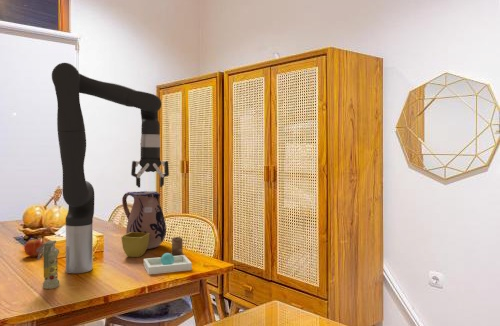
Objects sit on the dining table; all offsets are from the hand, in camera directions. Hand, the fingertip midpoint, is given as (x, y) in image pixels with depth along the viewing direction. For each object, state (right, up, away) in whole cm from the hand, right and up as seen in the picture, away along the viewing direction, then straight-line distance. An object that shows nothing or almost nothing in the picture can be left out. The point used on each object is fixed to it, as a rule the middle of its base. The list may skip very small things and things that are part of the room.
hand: (150, 187), depth 166 cm
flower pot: (-8, -30, +10) cm, 32 cm away
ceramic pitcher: (-9, -29, +25) cm, 39 cm away
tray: (+8, -30, -6) cm, 32 cm away
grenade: (-27, -31, -29) cm, 50 cm away
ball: (+8, -27, -6) cm, 29 cm away
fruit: (-49, -29, +7) cm, 58 cm away
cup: (+9, -30, +10) cm, 33 cm away
